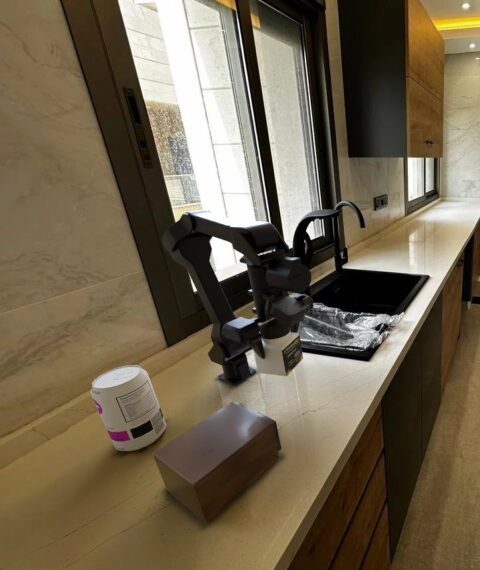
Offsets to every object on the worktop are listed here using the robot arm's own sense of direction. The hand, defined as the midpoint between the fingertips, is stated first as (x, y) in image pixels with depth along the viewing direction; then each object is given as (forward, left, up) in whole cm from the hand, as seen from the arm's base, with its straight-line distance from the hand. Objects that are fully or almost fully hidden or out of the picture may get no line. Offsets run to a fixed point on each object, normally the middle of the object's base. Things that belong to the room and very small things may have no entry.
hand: (278, 349), depth 73 cm
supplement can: (-16, -23, -13) cm, 31 cm away
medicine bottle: (0, 0, -5) cm, 5 cm away
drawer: (+7, -17, -12) cm, 22 cm away
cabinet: (+7, -20, -13) cm, 25 cm away
